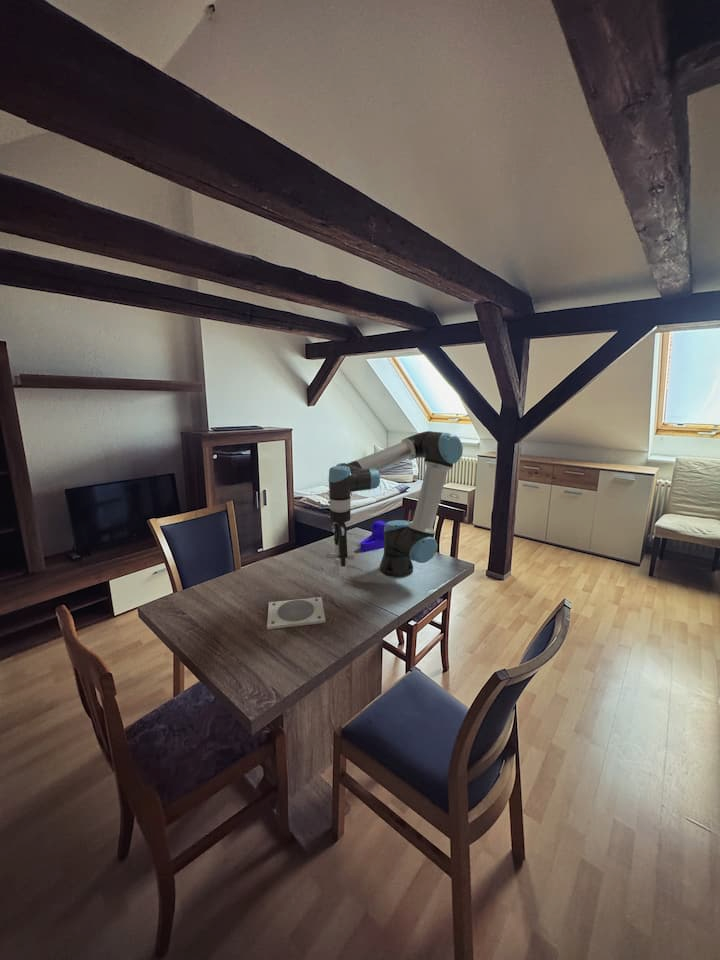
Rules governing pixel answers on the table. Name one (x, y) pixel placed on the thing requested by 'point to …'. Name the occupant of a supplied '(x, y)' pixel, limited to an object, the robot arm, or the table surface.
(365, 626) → the table surface
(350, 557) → the pipe connector
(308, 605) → the duct panel
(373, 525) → the bracket
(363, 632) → the table surface
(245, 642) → the table surface
